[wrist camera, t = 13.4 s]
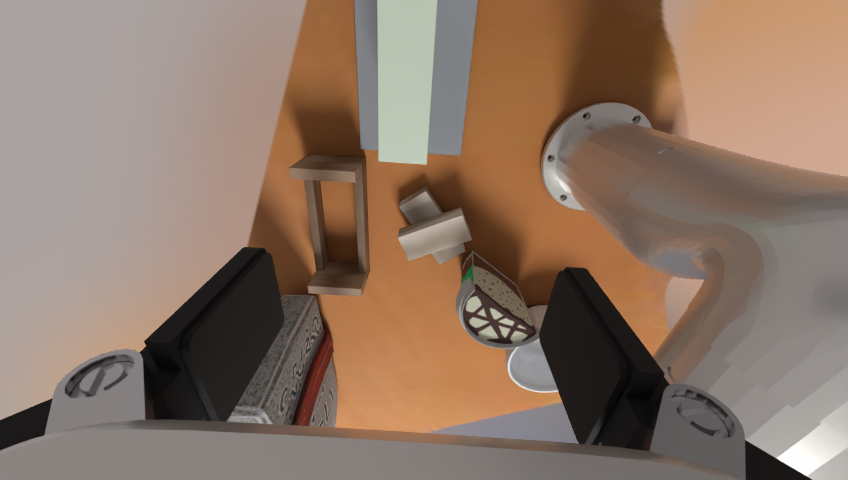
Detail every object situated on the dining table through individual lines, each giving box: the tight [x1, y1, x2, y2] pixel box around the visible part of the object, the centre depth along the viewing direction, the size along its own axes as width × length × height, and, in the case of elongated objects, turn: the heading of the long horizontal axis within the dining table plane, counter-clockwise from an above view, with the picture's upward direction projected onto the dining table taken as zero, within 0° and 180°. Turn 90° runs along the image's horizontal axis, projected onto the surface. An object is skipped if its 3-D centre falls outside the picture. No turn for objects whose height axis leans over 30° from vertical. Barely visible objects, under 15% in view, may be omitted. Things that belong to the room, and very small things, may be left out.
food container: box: [456, 250, 540, 349], centre depth 43 cm, size 12×6×10 cm, turn 50°
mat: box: [354, 0, 478, 155], centre depth 34 cm, size 12×16×1 cm
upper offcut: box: [398, 207, 472, 261], centre depth 40 cm, size 4×8×2 cm, turn 112°
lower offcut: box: [399, 186, 465, 264], centre depth 42 cm, size 4×10×2 cm, turn 32°
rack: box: [289, 154, 370, 296], centre depth 40 cm, size 7×17×6 cm, turn 177°
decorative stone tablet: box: [226, 295, 338, 428], centre depth 48 cm, size 19×6×30 cm
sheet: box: [377, 0, 438, 165], centre depth 29 cm, size 4×12×12 cm, turn 177°
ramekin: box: [505, 305, 558, 392], centre depth 49 cm, size 13×13×7 cm
